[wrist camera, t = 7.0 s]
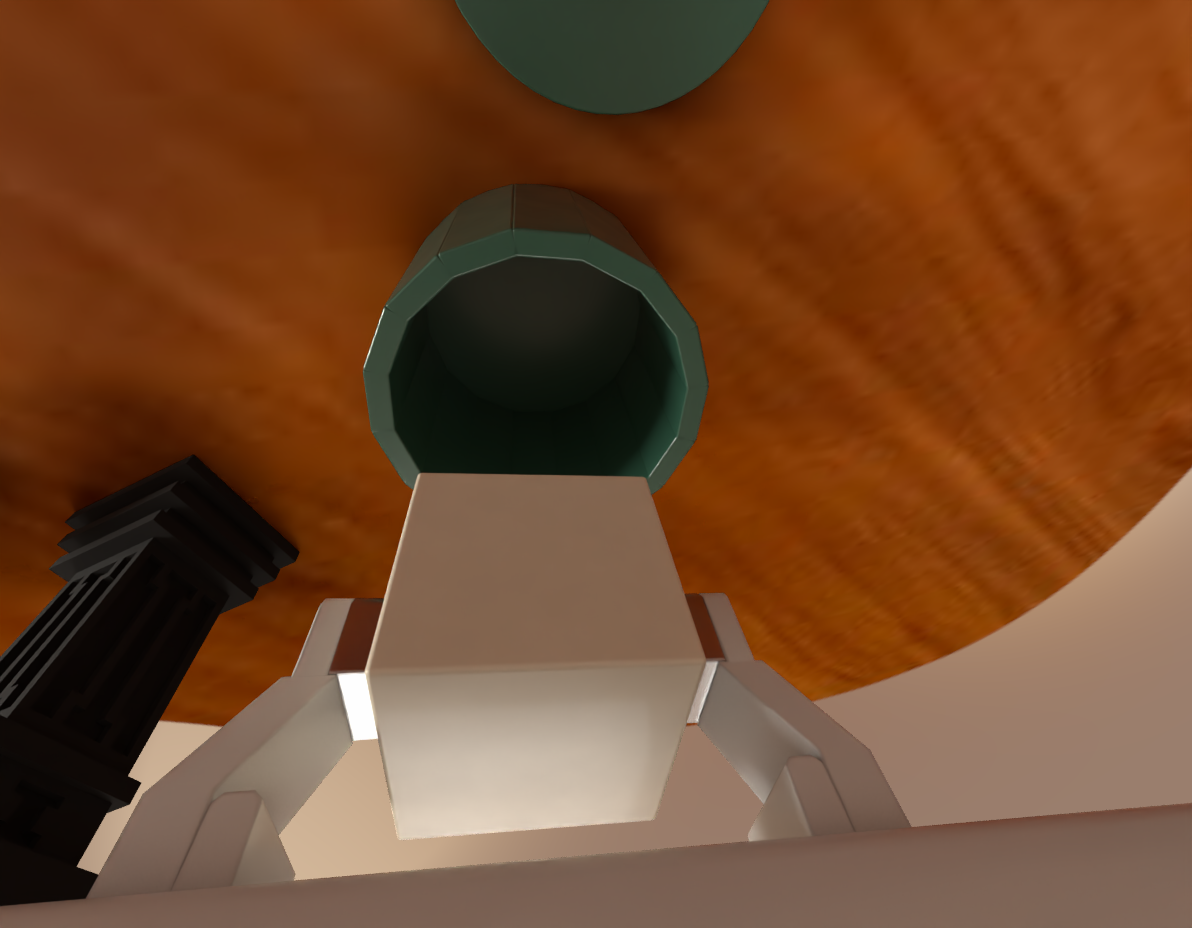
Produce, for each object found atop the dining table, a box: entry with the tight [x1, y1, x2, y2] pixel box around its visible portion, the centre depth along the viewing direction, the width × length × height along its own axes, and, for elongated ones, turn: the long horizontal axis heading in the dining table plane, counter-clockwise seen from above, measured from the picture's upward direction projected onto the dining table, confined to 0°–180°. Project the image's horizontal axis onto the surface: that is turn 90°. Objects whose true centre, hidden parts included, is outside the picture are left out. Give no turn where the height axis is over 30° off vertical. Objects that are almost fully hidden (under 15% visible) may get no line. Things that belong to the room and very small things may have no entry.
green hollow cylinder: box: [363, 184, 709, 495], centre depth 23 cm, size 12×12×10 cm
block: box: [365, 473, 706, 840], centre depth 10 cm, size 4×4×4 cm
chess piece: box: [0, 455, 300, 906], centre depth 24 cm, size 8×8×20 cm
